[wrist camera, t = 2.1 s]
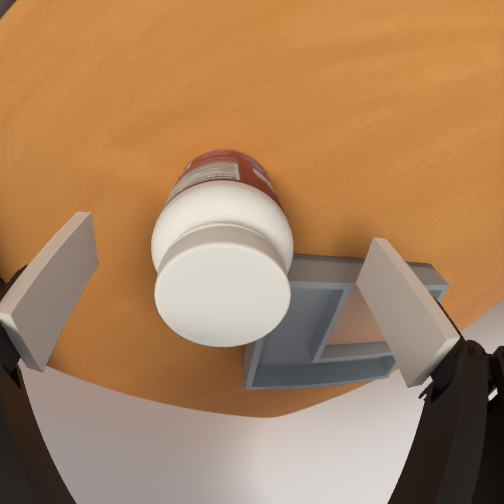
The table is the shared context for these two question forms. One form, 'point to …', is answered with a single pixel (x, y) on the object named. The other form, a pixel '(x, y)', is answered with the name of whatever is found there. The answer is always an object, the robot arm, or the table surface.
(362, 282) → the robot arm
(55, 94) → the table surface
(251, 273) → the pill bottle
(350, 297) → the walled box
